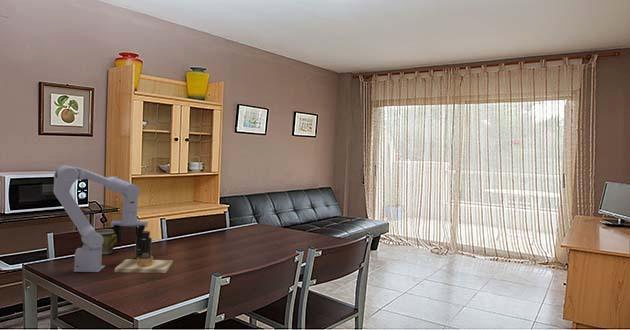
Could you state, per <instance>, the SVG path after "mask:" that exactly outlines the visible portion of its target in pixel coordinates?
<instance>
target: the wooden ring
mask: <svg viewBox="0 0 630 330" xmlns="http://www.w3.org/2000/svg"><path fill="white" fill-rule="evenodd" d="M136 260H137V265H138V266H150V265H152V264H153V260H154V256H153V255H151V256H150V255H149V258H147V259H142V256H139V257H137V258H136Z"/></svg>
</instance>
